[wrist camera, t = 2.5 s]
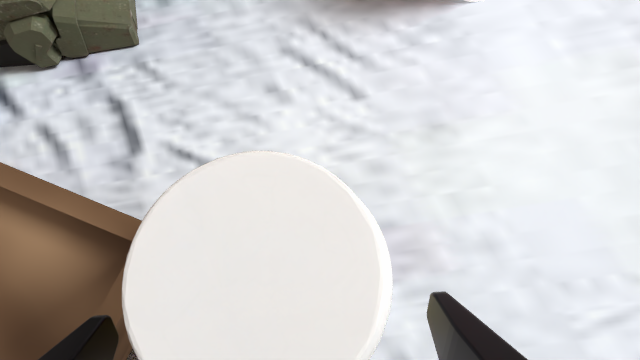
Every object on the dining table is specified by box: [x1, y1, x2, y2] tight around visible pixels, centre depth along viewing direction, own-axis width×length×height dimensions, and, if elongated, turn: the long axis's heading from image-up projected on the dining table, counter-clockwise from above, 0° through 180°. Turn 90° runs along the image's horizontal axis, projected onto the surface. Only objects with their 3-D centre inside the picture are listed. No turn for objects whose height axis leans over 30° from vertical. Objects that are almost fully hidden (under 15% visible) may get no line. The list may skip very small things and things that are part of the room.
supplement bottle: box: [122, 151, 393, 360], centre depth 12 cm, size 7×7×13 cm
